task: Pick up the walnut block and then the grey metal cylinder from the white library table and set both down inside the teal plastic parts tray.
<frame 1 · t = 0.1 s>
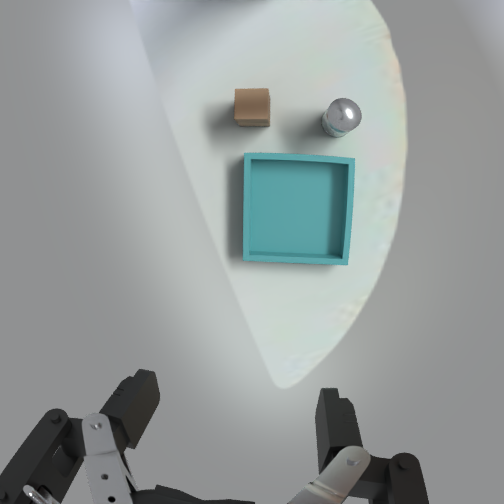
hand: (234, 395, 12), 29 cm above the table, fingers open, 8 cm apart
walnut block: (255, 112, 35), on the table
parts tray: (297, 207, 38), on the table
metal cylinder: (336, 122, 35), on the table
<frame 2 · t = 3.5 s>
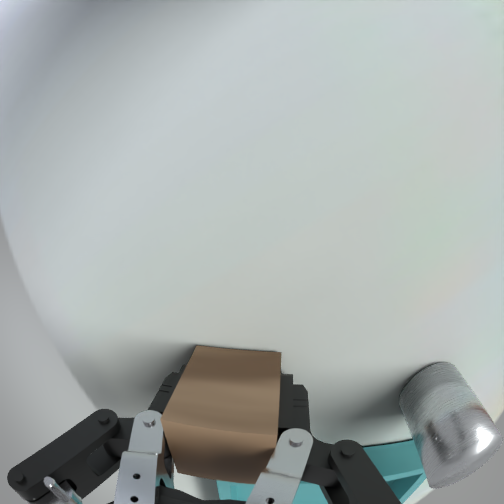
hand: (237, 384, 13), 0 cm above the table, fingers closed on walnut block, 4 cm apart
walnut block: (238, 381, 13), on the table, touching gripper
parts tray: (315, 492, 16), on the table
metal cylinder: (429, 389, 13), on the table
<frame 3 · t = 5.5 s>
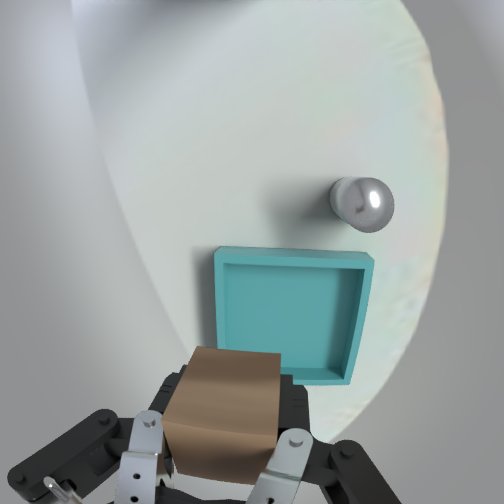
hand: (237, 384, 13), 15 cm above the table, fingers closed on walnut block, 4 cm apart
walnut block: (238, 381, 13), point 15 cm above the table, touching gripper
parts tray: (290, 316, 28), on the table
metal cylinder: (350, 198, 25), on the table
when the fingers open (3 cm above the table, at t = 7.7 s): walnut block drops 2 cm, resting on parts tray.
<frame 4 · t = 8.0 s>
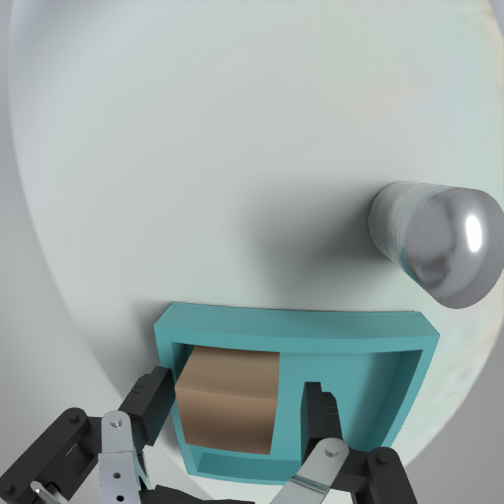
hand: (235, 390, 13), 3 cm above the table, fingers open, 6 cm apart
walnut block: (241, 360, 15), point 1 cm above the table, touching parts tray
parts tray: (290, 404, 16), on the table
metal cylinder: (404, 221, 13), on the table
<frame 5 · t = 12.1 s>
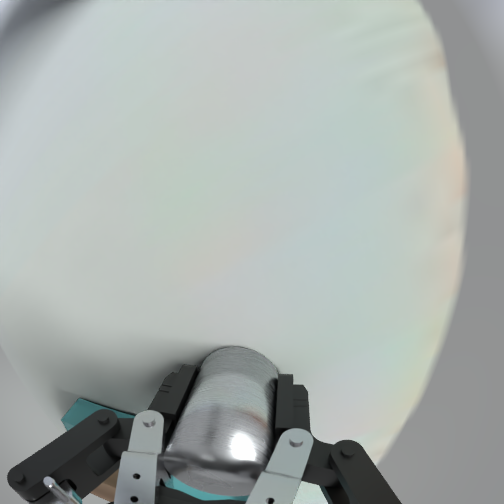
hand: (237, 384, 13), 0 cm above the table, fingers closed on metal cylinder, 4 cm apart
walnut block: (130, 443, 16), point 1 cm above the table, touching parts tray
parts tray: (179, 473, 17), on the table
metal cylinder: (239, 378, 14), on the table, touching gripper
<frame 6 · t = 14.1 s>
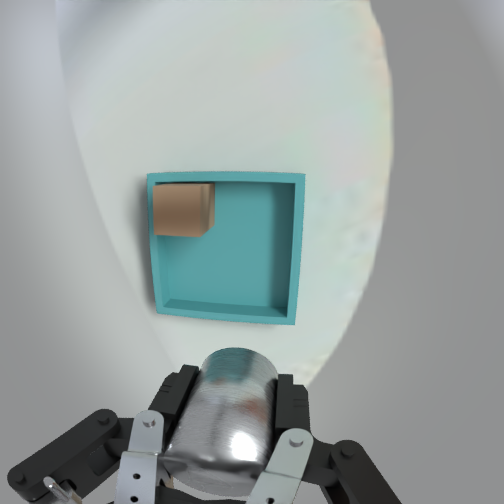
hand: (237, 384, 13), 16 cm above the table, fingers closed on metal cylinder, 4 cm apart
walnut block: (194, 203, 27), point 1 cm above the table, touching parts tray
parts tray: (226, 243, 28), on the table
metal cylinder: (239, 379, 14), point 16 cm above the table, touching gripper
when the fingers open (3 cm above the table, at t = 16.5 s): metal cylinder drops 2 cm, resting on parts tray.
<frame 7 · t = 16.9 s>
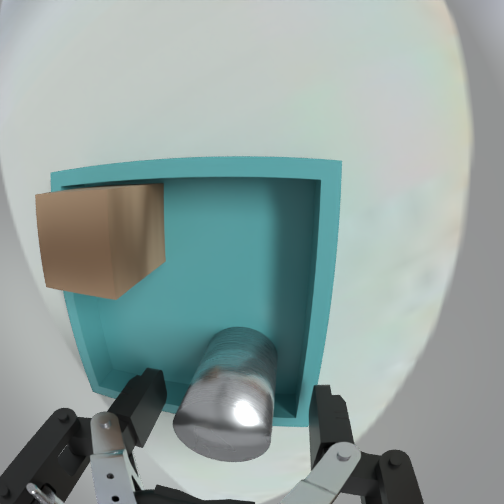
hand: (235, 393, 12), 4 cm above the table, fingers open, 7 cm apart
walnut block: (130, 222, 14), point 1 cm above the table, touching parts tray
parts tray: (190, 293, 15), on the table
metal cylinder: (241, 357, 15), point 1 cm above the table, touching parts tray
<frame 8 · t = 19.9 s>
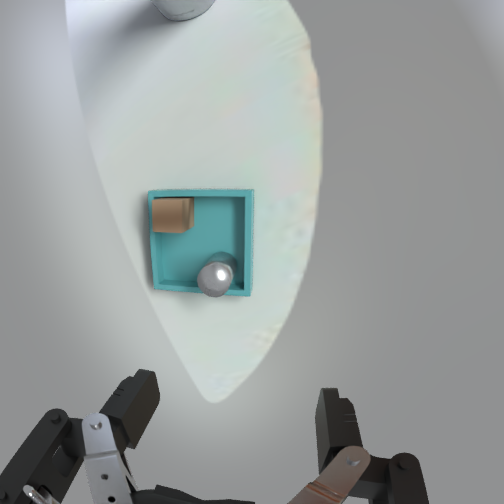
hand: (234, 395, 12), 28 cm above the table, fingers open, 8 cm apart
walnut block: (180, 211, 39), point 1 cm above the table, touching parts tray
parts tray: (203, 239, 40), on the table
metal cylinder: (222, 265, 40), point 1 cm above the table, touching parts tray
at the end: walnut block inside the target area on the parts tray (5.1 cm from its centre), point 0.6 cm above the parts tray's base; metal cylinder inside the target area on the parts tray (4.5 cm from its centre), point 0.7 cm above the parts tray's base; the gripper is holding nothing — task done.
